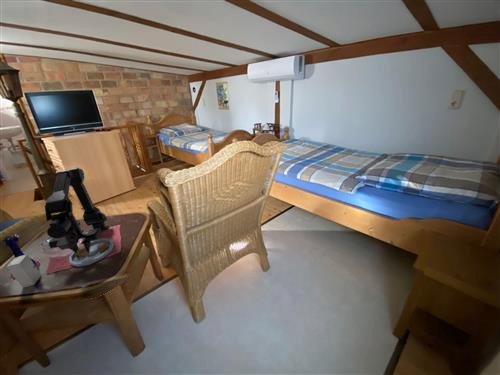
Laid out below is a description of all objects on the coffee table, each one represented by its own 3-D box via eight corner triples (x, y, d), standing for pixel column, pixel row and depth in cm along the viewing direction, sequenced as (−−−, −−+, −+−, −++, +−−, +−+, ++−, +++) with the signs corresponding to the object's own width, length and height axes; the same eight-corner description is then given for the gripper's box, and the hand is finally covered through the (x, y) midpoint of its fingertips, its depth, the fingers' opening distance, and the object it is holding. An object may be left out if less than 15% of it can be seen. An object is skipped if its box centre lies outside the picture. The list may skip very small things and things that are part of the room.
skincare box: (34, 284, 89) (19, 263, 84) (21, 288, 88) (5, 267, 83) (42, 274, 94) (28, 253, 89) (30, 277, 93) (15, 256, 88)
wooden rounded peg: (101, 248, 106) (99, 243, 104) (110, 246, 107) (107, 241, 105) (98, 253, 102) (95, 248, 101) (107, 252, 103) (104, 246, 102)
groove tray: (83, 246, 111) (80, 242, 110) (119, 239, 114) (117, 235, 112) (63, 271, 95) (60, 267, 93) (105, 263, 98) (103, 259, 96)
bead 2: (77, 258, 95) (74, 252, 94) (82, 252, 99) (78, 246, 97) (87, 256, 96) (84, 250, 94) (91, 250, 99) (88, 244, 98)
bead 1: (87, 252, 104) (84, 247, 102) (79, 258, 100) (75, 252, 99) (83, 250, 105) (80, 245, 104) (74, 256, 102) (71, 250, 101)
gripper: (31, 240, 82) (50, 269, 88) (83, 231, 85) (98, 260, 91) (49, 224, 92) (65, 252, 98) (95, 217, 95) (108, 244, 101)
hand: (83, 252), depth 97 cm, fingers closed on bead 2, 4 cm apart
